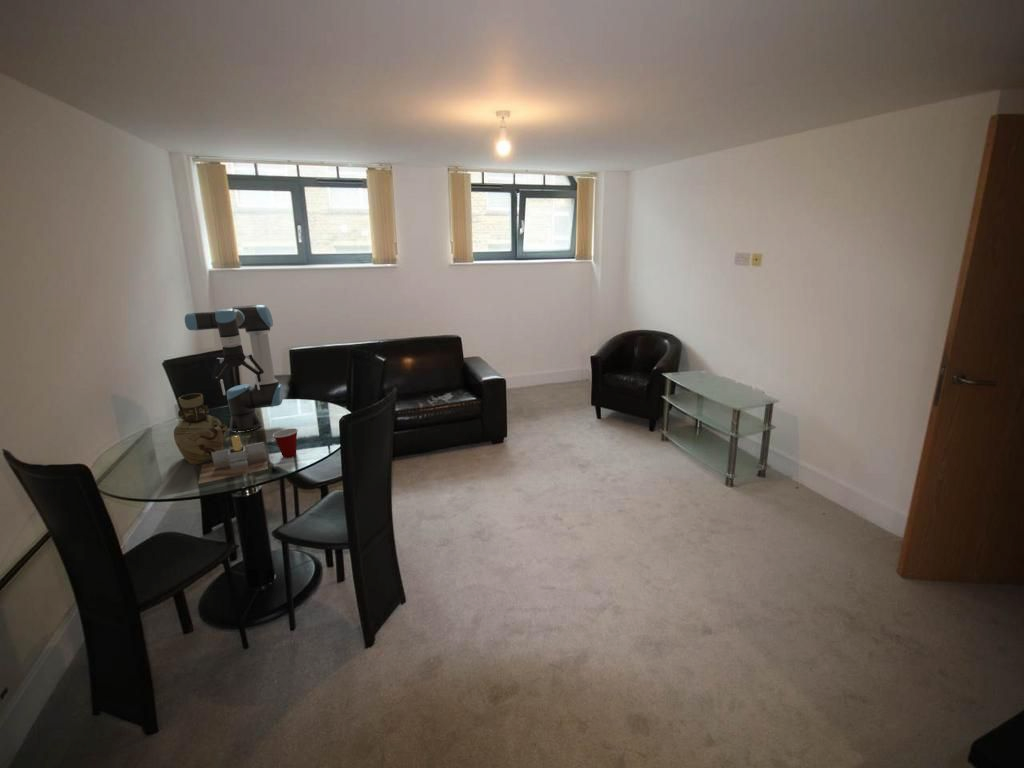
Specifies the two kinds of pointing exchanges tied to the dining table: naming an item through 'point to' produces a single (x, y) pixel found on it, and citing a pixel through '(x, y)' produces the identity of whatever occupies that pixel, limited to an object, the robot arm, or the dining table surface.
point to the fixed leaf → (250, 456)
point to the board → (228, 471)
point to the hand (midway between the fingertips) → (241, 391)
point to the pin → (236, 443)
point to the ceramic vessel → (198, 430)
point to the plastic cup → (287, 442)
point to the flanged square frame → (227, 457)
